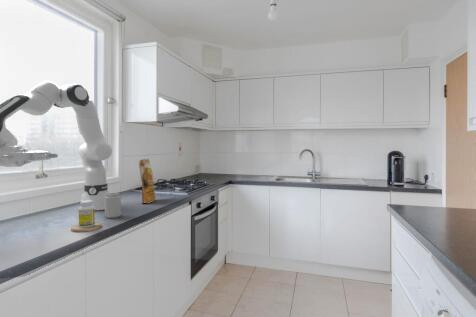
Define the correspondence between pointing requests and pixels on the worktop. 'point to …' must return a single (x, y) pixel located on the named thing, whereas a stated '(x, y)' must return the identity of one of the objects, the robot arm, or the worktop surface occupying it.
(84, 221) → the pill bottle
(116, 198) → the can
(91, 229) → the coaster
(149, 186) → the pancake mix bag
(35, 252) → the worktop surface
